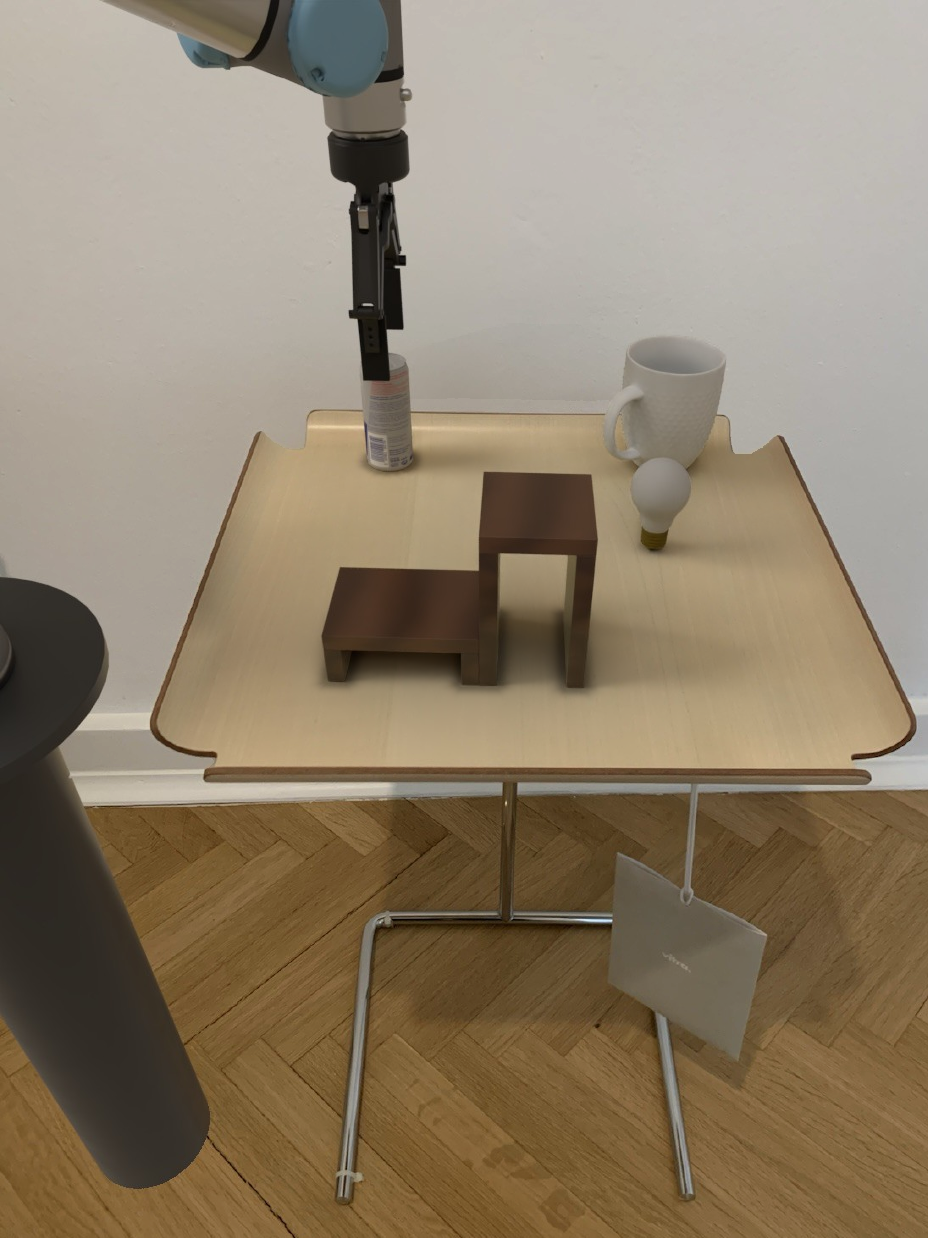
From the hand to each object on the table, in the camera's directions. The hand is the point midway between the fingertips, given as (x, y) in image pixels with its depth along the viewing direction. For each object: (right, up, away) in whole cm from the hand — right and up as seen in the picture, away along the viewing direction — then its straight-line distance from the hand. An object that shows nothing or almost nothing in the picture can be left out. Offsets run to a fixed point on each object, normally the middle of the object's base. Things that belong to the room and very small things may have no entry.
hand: (384, 353), depth 102 cm
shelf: (+9, -32, -17) cm, 38 cm away
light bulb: (+28, -22, -4) cm, 36 cm away
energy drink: (0, -10, +9) cm, 13 cm away
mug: (+31, -10, +9) cm, 33 cm away
